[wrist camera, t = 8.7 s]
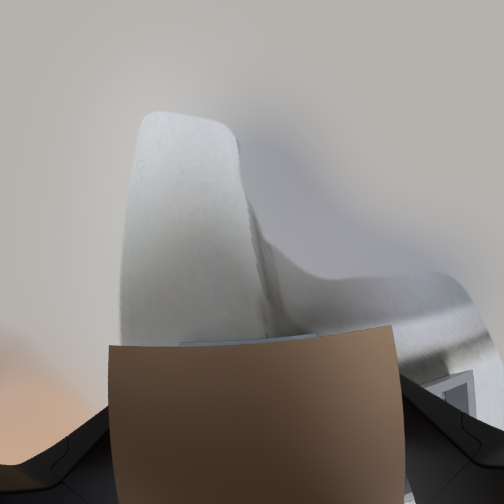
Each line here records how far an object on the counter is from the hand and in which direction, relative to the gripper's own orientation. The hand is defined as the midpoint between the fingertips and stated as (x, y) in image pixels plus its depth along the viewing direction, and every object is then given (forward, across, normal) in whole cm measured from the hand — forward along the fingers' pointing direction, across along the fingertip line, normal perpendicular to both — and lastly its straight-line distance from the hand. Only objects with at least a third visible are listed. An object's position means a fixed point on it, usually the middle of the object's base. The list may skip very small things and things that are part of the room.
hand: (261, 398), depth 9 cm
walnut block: (+5, 0, +7) cm, 8 cm away
